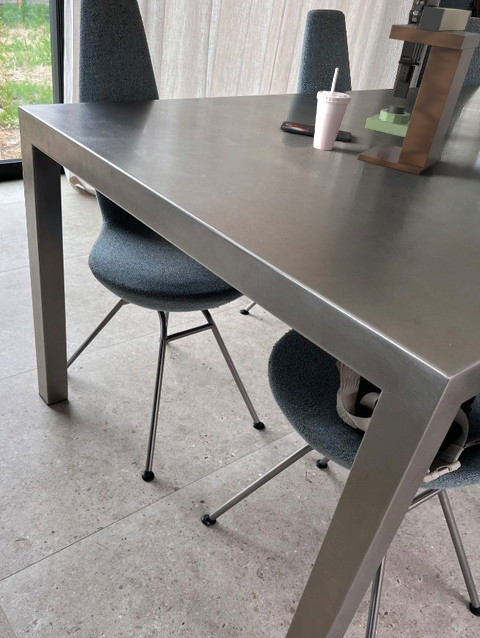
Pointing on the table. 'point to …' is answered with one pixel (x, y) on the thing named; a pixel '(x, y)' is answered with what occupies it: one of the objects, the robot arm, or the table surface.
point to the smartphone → (311, 130)
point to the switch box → (389, 122)
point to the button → (396, 109)
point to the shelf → (428, 98)
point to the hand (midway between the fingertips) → (399, 97)
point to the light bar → (444, 19)
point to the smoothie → (329, 116)
